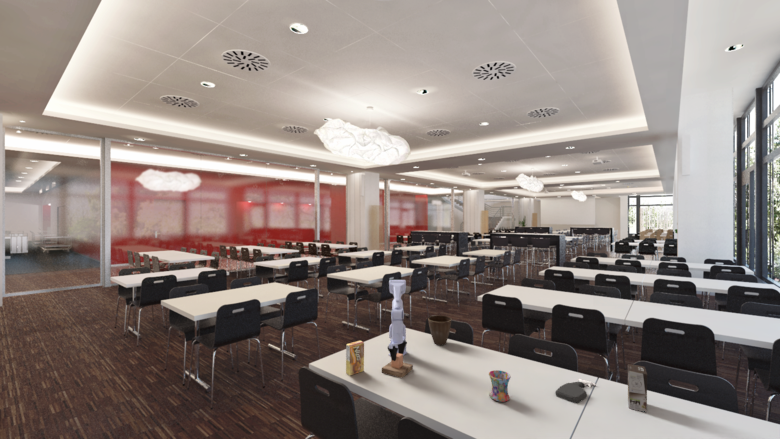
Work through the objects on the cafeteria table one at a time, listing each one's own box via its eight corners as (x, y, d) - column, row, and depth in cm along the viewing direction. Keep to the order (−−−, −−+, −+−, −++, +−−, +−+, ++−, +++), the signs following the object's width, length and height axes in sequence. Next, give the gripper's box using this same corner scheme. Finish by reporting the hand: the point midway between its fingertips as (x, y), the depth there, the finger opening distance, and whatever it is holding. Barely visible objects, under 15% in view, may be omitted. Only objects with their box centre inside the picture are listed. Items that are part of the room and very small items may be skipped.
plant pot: (427, 346, 218) (427, 321, 218) (428, 338, 233) (428, 314, 232) (451, 348, 215) (451, 322, 215) (451, 340, 230) (451, 315, 230)
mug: (508, 406, 149) (508, 381, 149) (486, 400, 154) (486, 376, 154) (513, 393, 160) (513, 370, 160) (492, 388, 164) (492, 366, 164)
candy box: (359, 368, 186) (359, 340, 186) (364, 371, 183) (364, 342, 183) (345, 373, 181) (345, 343, 181) (350, 376, 178) (350, 346, 177)
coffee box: (647, 413, 144) (647, 374, 144) (628, 408, 147) (628, 370, 147) (645, 403, 152) (645, 366, 152) (627, 399, 155) (627, 363, 155)
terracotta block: (395, 363, 187) (395, 352, 187) (402, 365, 185) (402, 354, 185) (391, 366, 183) (391, 355, 183) (398, 368, 181) (398, 356, 181)
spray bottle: (553, 396, 158) (574, 380, 175) (578, 406, 150) (599, 388, 166) (553, 389, 159) (575, 374, 175) (578, 399, 150) (599, 382, 166)
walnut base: (393, 365, 192) (393, 359, 192) (412, 370, 186) (412, 364, 186) (381, 373, 182) (381, 367, 182) (401, 379, 175) (401, 373, 175)
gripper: (397, 327, 192) (397, 351, 192) (383, 334, 180) (383, 361, 180) (409, 329, 188) (409, 354, 188) (395, 337, 176) (395, 364, 176)
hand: (397, 357), depth 184 cm, fingers open, 7 cm apart
